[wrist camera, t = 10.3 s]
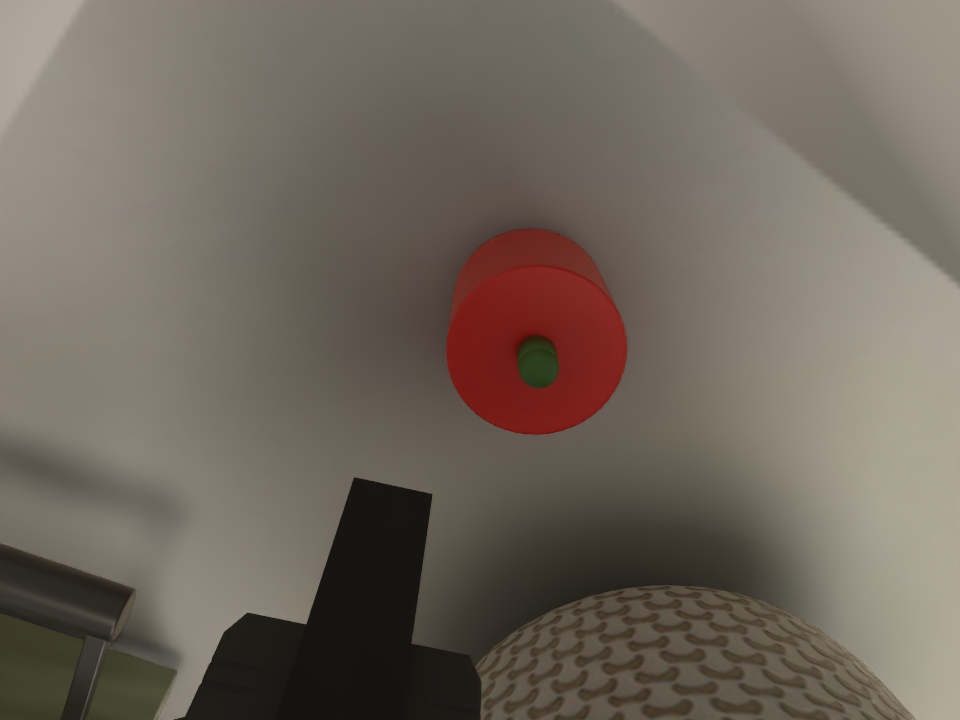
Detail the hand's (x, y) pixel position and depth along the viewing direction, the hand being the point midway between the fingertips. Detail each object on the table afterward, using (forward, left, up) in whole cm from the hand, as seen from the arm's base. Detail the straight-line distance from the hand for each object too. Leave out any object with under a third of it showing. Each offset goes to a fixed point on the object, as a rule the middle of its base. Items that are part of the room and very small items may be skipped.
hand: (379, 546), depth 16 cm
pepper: (-2, +3, -11) cm, 11 cm away
